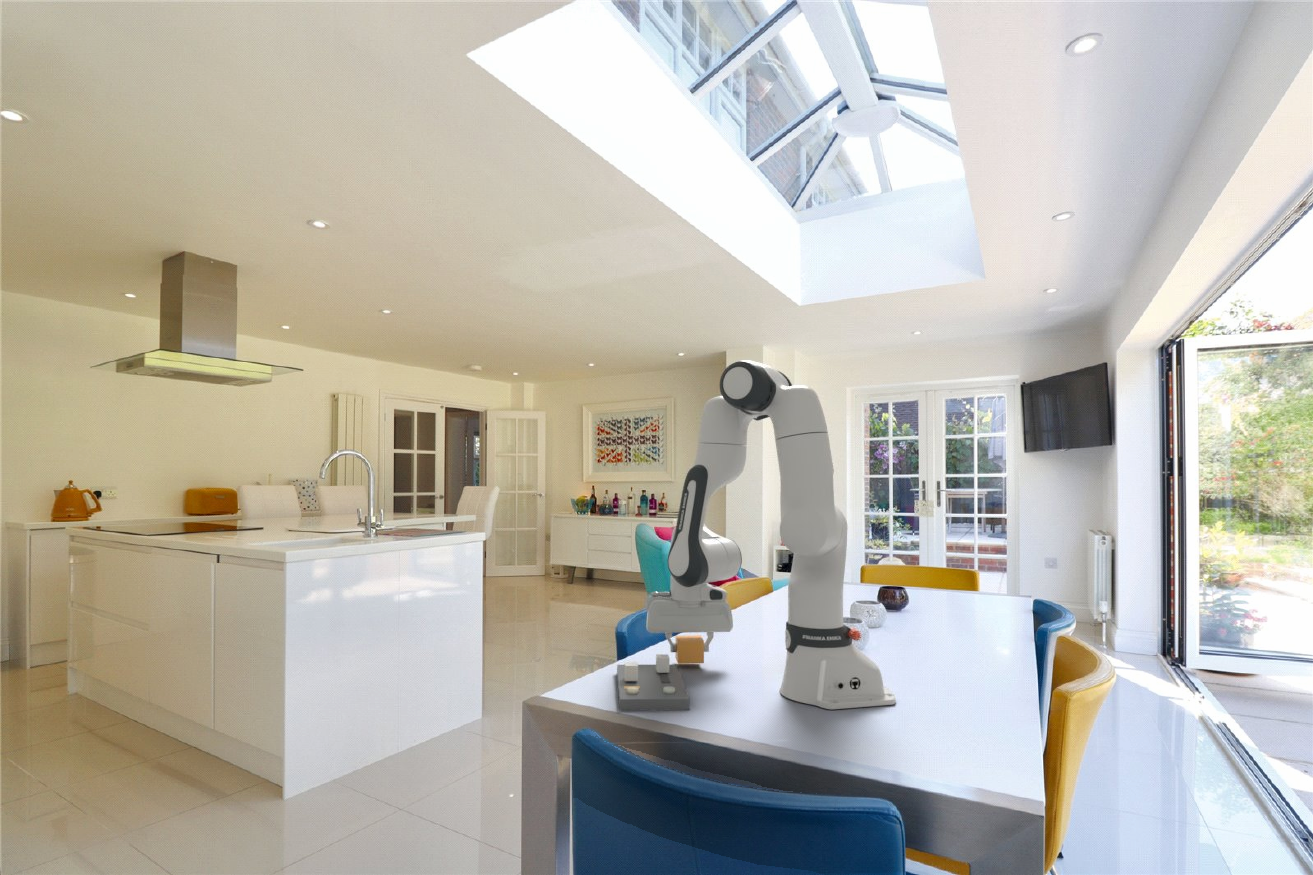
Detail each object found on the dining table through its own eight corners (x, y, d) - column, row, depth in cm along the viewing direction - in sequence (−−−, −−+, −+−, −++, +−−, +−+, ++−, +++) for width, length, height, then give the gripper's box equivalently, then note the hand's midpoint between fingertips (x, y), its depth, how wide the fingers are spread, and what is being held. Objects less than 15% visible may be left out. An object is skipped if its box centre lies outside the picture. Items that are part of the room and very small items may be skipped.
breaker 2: (667, 668, 141) (668, 654, 141) (669, 672, 138) (669, 658, 138) (655, 668, 141) (656, 654, 141) (656, 672, 138) (657, 658, 138)
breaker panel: (675, 673, 145) (675, 660, 146) (689, 709, 122) (690, 694, 122) (617, 673, 144) (617, 661, 145) (619, 710, 120) (620, 694, 121)
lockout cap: (700, 656, 155) (700, 635, 156) (704, 663, 149) (703, 640, 150) (675, 657, 155) (675, 635, 155) (677, 663, 149) (677, 641, 149)
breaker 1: (636, 676, 134) (637, 661, 135) (637, 681, 131) (638, 665, 132) (624, 676, 134) (624, 662, 134) (624, 681, 131) (625, 665, 131)
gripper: (645, 593, 150) (645, 655, 148) (733, 592, 151) (734, 654, 150) (644, 589, 156) (644, 649, 155) (729, 589, 157) (730, 647, 156)
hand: (689, 651), depth 152 cm, fingers closed on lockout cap, 6 cm apart
